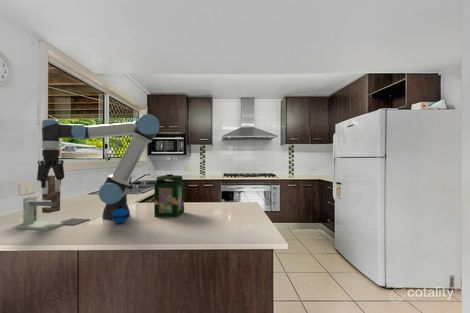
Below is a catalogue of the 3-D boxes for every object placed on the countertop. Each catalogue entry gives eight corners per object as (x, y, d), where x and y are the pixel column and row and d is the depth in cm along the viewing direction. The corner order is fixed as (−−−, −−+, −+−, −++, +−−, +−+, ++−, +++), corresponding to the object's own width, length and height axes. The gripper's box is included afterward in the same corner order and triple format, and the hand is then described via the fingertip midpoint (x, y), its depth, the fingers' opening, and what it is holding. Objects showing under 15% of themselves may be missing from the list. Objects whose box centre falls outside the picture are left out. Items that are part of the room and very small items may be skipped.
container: (151, 217, 156) (151, 175, 156) (163, 211, 174) (163, 173, 174) (175, 218, 154) (175, 175, 154) (184, 211, 172) (185, 173, 172)
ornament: (121, 226, 137) (121, 207, 137) (107, 224, 140) (107, 206, 140) (132, 222, 146) (132, 204, 146) (119, 220, 148) (119, 203, 148)
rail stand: (63, 225, 139) (63, 199, 139) (47, 230, 129) (46, 203, 129) (35, 223, 142) (35, 198, 142) (16, 228, 132) (16, 202, 132)
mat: (90, 220, 150) (90, 219, 150) (73, 225, 138) (73, 224, 138) (71, 218, 152) (71, 218, 152) (54, 224, 140) (54, 223, 140)
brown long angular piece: (60, 210, 141) (60, 175, 141) (48, 213, 134) (49, 175, 134) (53, 210, 142) (54, 175, 142) (42, 212, 135) (42, 175, 135)
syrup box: (22, 224, 140) (22, 197, 140) (25, 221, 145) (25, 195, 145) (36, 223, 143) (35, 196, 143) (38, 220, 148) (38, 194, 148)
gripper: (60, 149, 148) (60, 190, 149) (26, 149, 129) (27, 195, 129) (72, 149, 147) (72, 190, 147) (40, 148, 127) (40, 196, 128)
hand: (51, 192), depth 138 cm, fingers closed on brown long angular piece, 7 cm apart
